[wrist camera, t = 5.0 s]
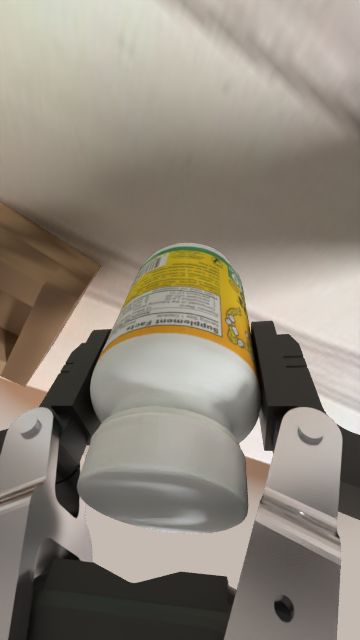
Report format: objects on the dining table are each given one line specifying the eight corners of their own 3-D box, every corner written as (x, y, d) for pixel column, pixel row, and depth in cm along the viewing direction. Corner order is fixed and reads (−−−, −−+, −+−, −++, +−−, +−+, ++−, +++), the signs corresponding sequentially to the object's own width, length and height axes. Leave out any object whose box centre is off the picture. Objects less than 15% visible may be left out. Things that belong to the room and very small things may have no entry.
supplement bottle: (135, 234, 12) (6, 431, 4) (253, 244, 12) (325, 471, 4) (140, 325, 15) (69, 526, 8) (231, 334, 15) (251, 552, 8)
